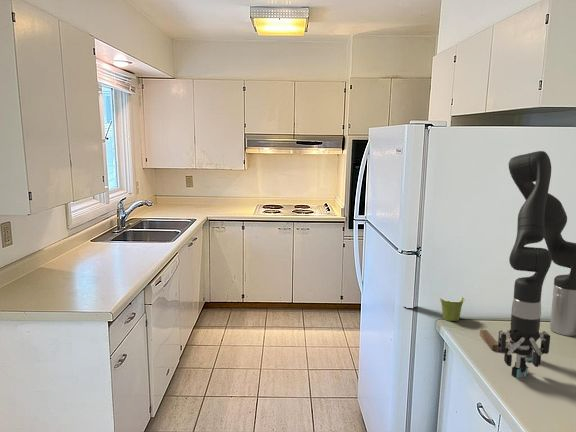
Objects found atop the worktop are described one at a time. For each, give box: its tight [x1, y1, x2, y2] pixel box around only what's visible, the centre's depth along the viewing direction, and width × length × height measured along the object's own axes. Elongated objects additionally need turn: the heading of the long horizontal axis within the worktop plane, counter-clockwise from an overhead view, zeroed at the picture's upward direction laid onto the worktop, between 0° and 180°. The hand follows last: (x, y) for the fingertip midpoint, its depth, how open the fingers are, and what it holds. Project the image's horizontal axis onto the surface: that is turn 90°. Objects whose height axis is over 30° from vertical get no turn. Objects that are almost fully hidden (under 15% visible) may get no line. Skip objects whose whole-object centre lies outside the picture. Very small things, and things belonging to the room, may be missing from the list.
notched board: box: [479, 329, 511, 352], centre depth 151 cm, size 12×12×2 cm
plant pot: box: [438, 296, 465, 322], centre depth 172 cm, size 9×9×9 cm
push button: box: [511, 343, 532, 379], centre depth 130 cm, size 7×5×10 cm
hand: (521, 365), depth 131 cm, fingers open, 7 cm apart
